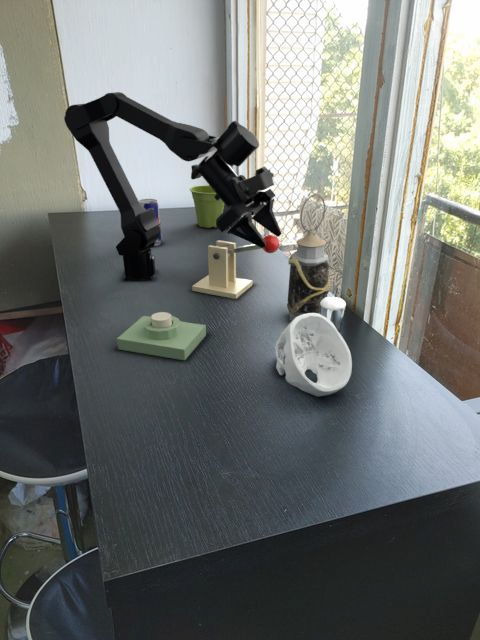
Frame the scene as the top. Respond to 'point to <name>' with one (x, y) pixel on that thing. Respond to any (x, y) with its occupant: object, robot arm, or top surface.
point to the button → (161, 320)
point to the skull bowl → (314, 355)
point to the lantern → (308, 273)
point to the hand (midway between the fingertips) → (272, 240)
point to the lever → (270, 247)
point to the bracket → (222, 273)
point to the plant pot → (206, 205)
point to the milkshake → (333, 309)
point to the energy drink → (154, 205)
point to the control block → (162, 338)
